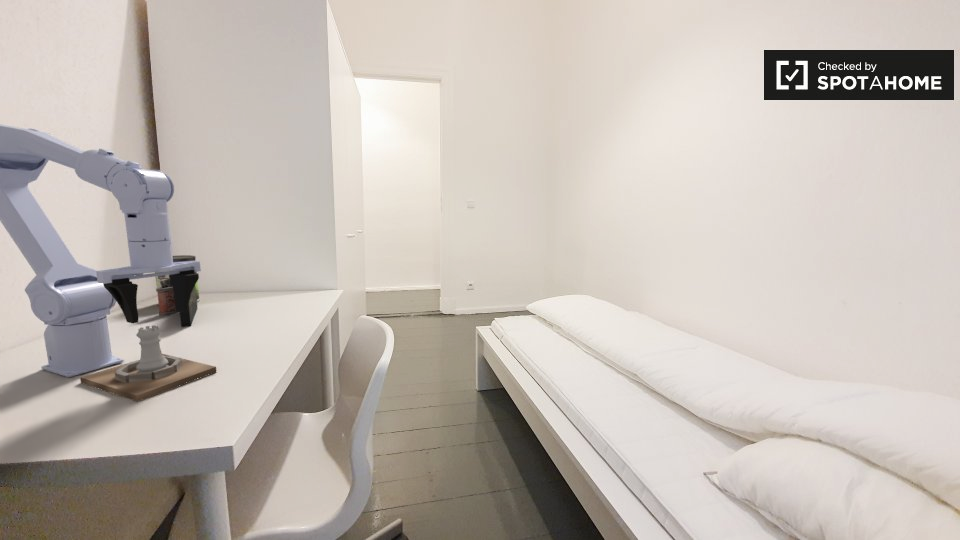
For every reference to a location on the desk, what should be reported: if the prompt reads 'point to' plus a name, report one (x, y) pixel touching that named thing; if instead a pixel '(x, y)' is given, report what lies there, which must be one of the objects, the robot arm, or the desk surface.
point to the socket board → (147, 378)
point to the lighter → (166, 298)
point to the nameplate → (189, 310)
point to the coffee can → (178, 259)
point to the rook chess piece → (150, 350)
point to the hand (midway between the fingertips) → (158, 316)
